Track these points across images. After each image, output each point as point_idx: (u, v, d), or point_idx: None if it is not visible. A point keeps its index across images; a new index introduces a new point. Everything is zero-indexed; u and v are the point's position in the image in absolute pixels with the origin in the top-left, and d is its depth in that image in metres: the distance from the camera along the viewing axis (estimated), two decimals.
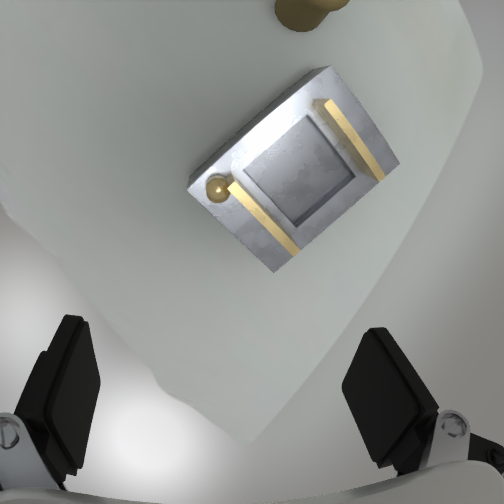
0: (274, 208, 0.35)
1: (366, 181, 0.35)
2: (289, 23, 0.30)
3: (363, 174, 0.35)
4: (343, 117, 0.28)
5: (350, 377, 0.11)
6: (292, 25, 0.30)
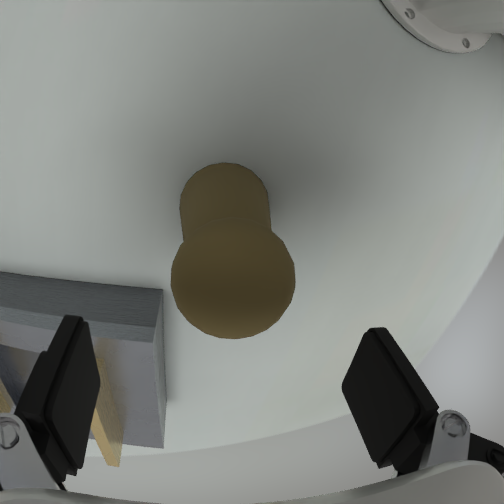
0: (1, 384, 0.20)
1: None
2: None
3: None
4: (97, 418, 0.17)
5: (350, 377, 0.11)
6: None
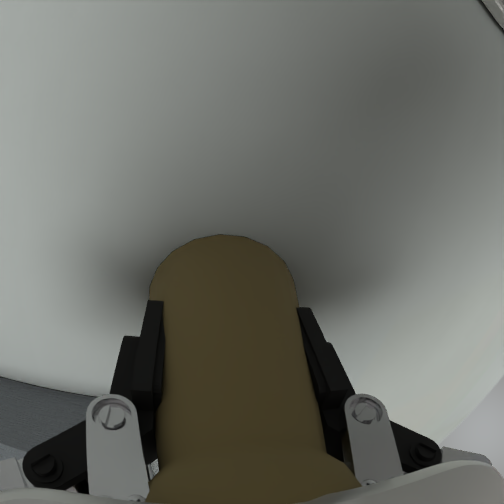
0: None
1: None
2: None
3: None
4: None
5: None
6: None
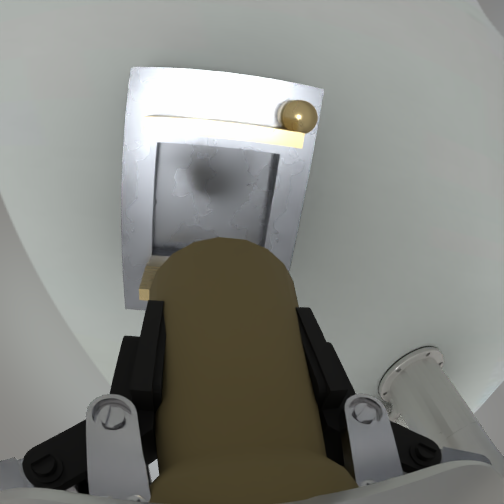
0: (205, 141, 0.22)
1: (135, 261, 0.25)
2: None
3: (146, 264, 0.26)
4: None
5: None
6: None
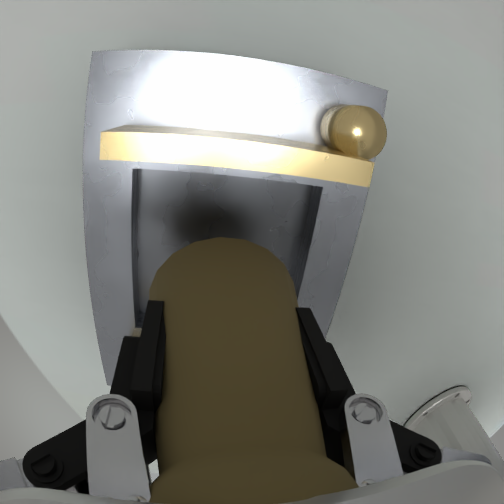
0: (209, 166, 0.14)
1: (113, 334, 0.18)
2: None
3: None
4: None
5: None
6: None
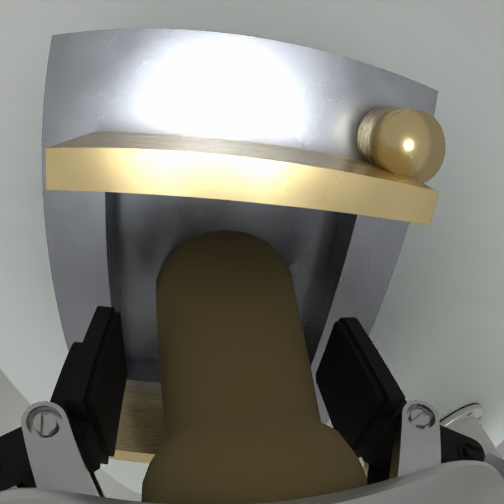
0: None
1: None
2: None
3: None
4: None
5: (322, 367, 0.11)
6: None
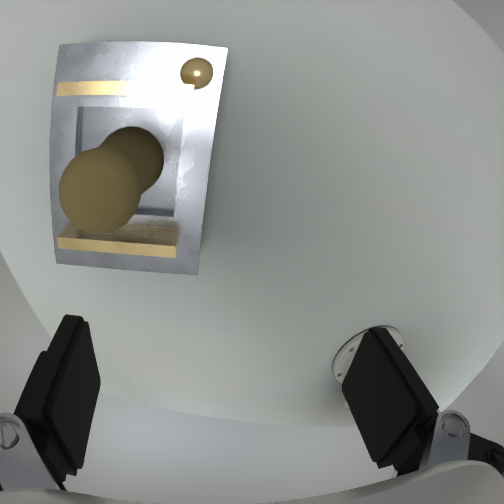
0: (118, 103, 0.22)
1: (62, 217, 0.25)
2: None
3: None
4: (148, 253, 0.24)
5: (350, 377, 0.11)
6: None
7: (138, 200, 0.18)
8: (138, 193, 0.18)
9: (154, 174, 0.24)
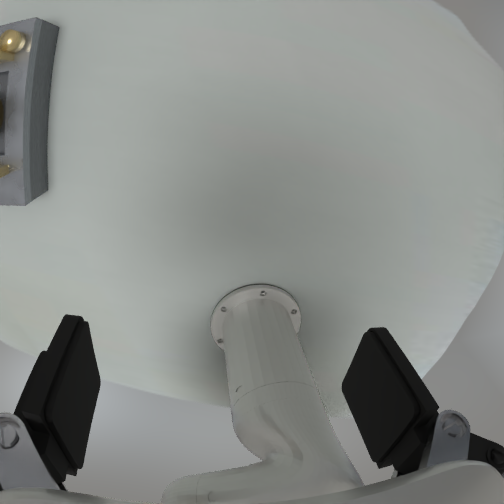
0: None
1: None
2: None
3: None
4: None
5: (350, 377, 0.11)
6: None
7: None
8: None
9: None
